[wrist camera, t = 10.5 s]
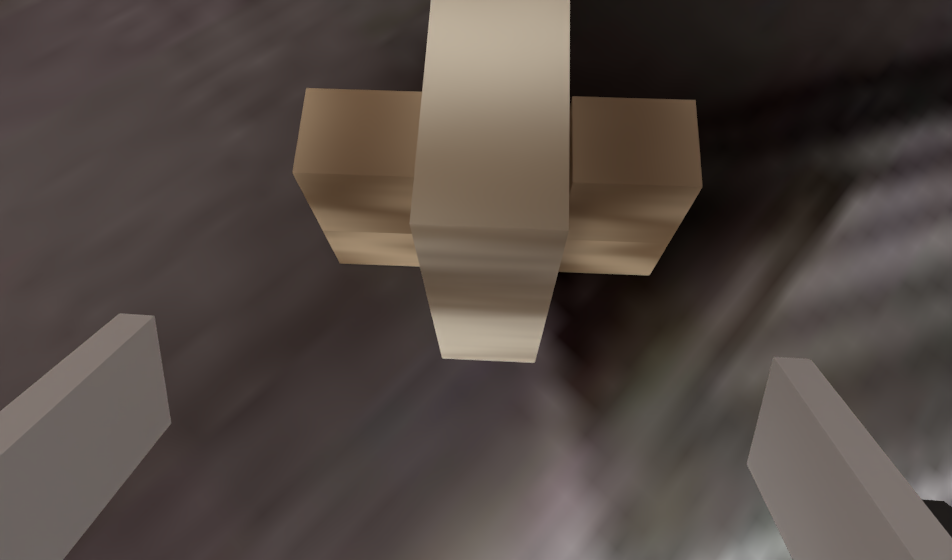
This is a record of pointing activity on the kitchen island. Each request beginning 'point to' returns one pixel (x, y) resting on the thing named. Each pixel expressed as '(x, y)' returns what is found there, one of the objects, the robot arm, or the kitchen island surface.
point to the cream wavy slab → (493, 173)
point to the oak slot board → (590, 176)
